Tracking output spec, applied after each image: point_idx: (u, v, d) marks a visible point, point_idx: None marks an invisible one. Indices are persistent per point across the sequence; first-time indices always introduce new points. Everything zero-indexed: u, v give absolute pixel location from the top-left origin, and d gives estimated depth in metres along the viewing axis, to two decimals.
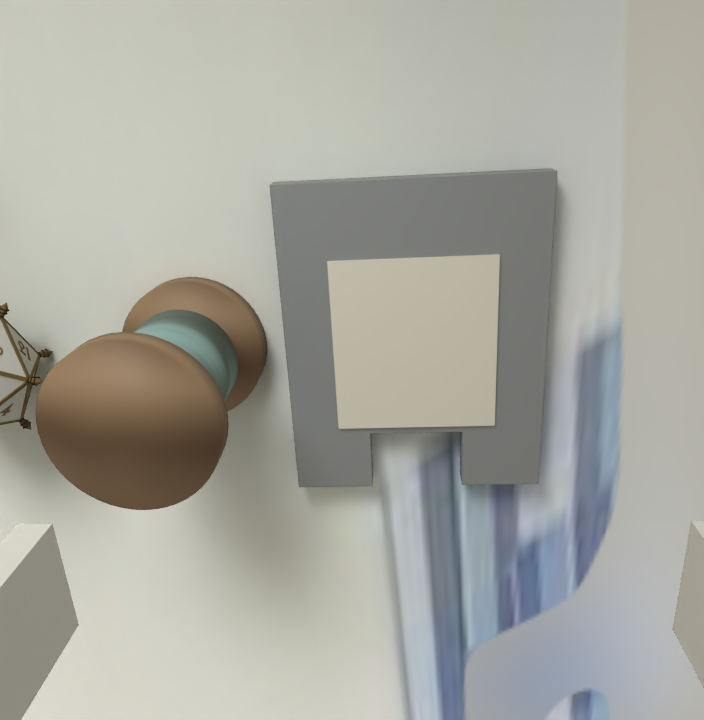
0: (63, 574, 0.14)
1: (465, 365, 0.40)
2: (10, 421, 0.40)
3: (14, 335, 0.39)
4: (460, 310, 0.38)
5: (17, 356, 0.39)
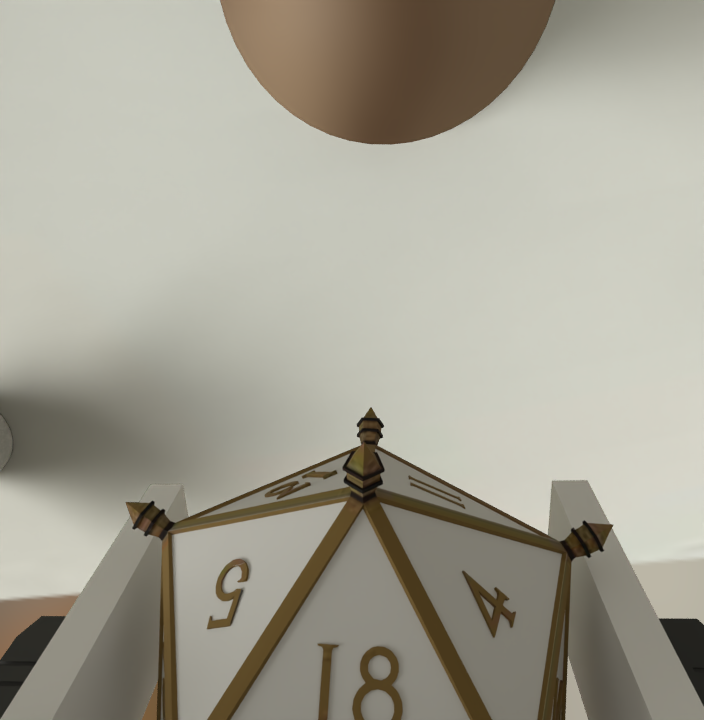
0: None
1: None
2: (558, 592, 0.10)
3: (243, 503, 0.11)
4: None
5: (281, 511, 0.10)
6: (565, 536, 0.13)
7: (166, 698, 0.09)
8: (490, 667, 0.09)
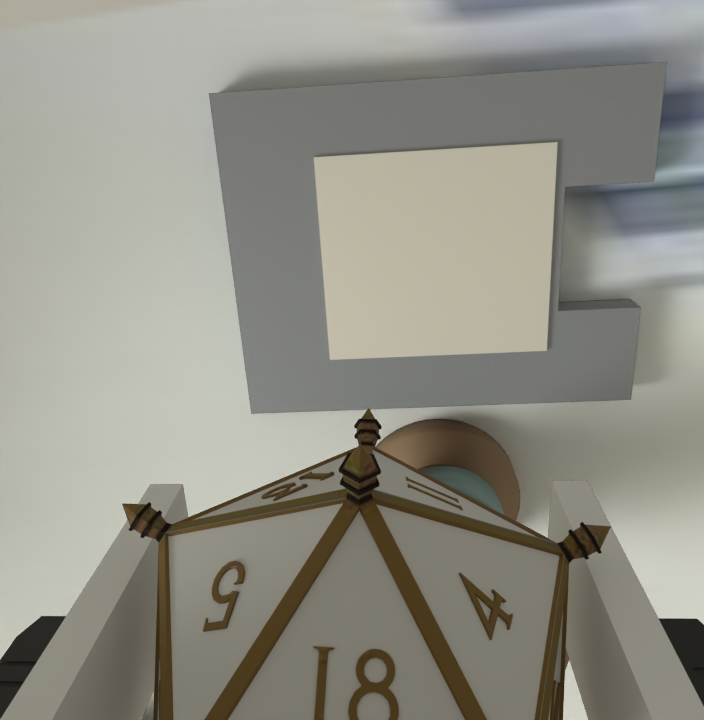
0: None
1: (463, 190, 0.30)
2: (555, 594, 0.10)
3: (240, 504, 0.11)
4: (386, 202, 0.30)
5: (276, 512, 0.10)
6: (565, 536, 0.13)
7: (162, 701, 0.09)
8: (487, 670, 0.09)
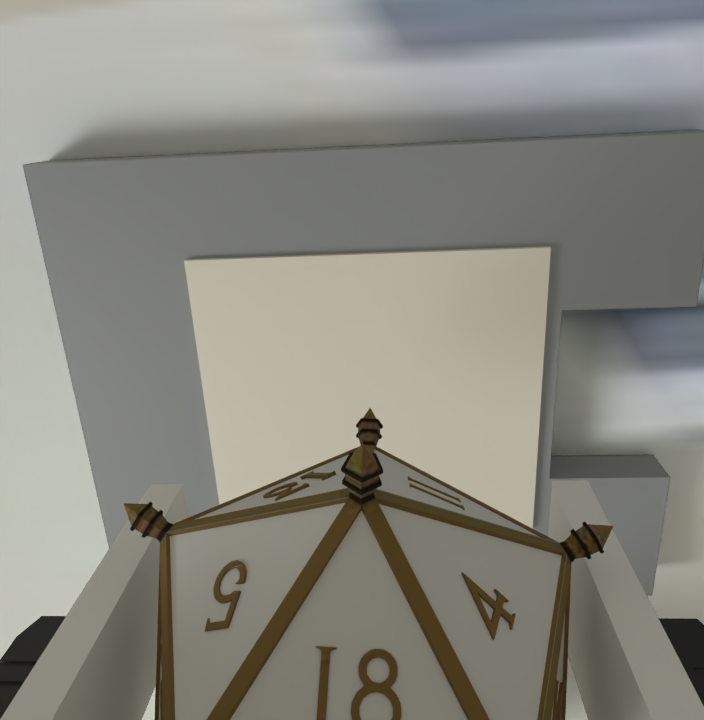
0: None
1: (408, 313, 0.20)
2: (558, 594, 0.10)
3: (241, 504, 0.11)
4: (295, 326, 0.20)
5: (278, 512, 0.10)
6: (565, 536, 0.13)
7: (163, 701, 0.09)
8: (490, 670, 0.09)
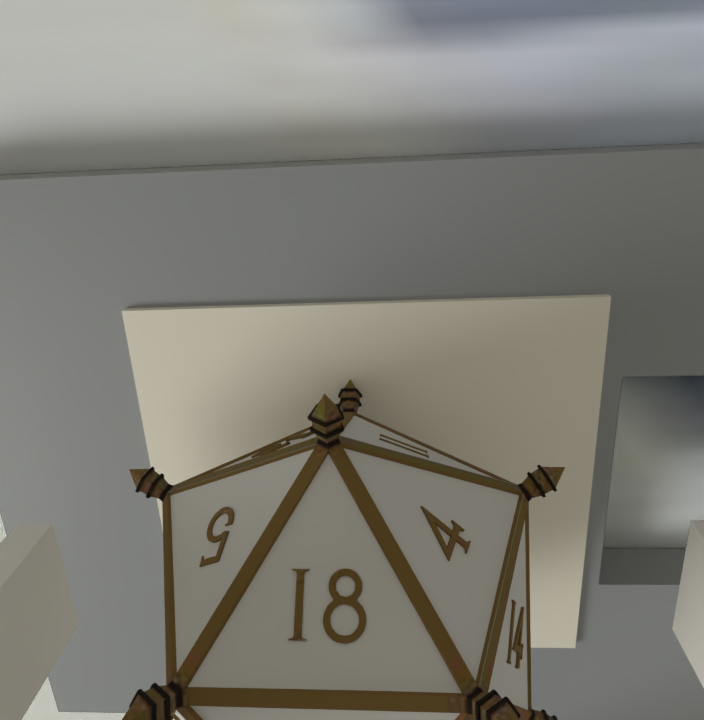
0: (63, 574, 0.14)
1: (418, 380, 0.15)
2: (513, 527, 0.11)
3: (233, 465, 0.13)
4: (270, 395, 0.15)
5: (261, 464, 0.11)
6: None
7: (166, 626, 0.10)
8: (444, 585, 0.10)
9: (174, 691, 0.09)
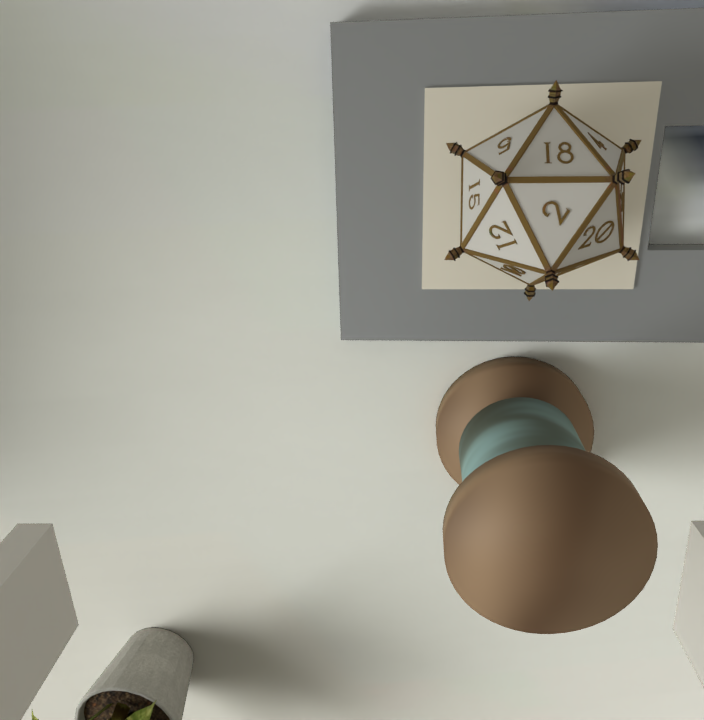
0: (63, 574, 0.14)
1: None
2: (621, 154, 0.27)
3: None
4: (490, 135, 0.32)
5: (517, 124, 0.27)
6: None
7: (488, 172, 0.26)
8: (600, 152, 0.26)
9: (504, 176, 0.25)
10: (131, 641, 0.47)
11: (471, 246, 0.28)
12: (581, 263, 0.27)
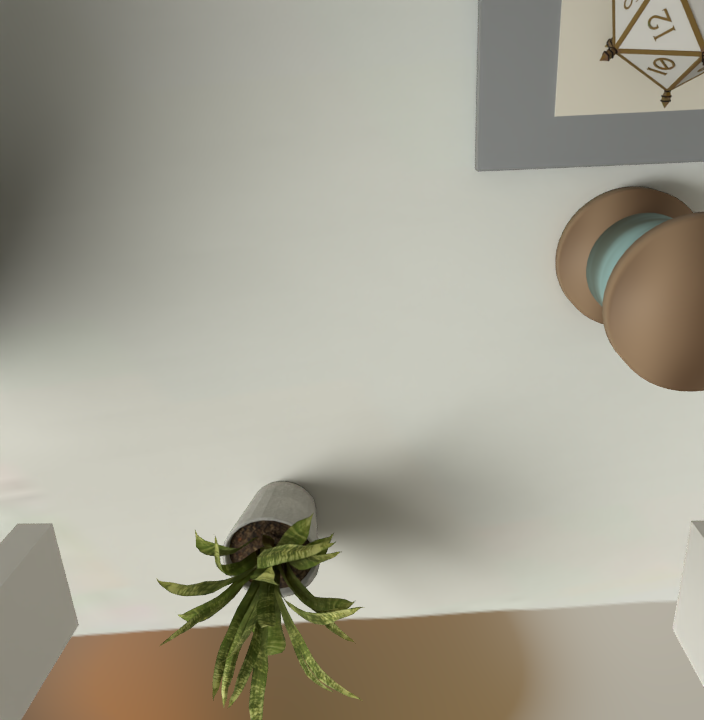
0: (63, 575, 0.14)
1: None
2: None
3: None
4: None
5: None
6: None
7: None
8: None
9: None
10: (261, 492, 0.50)
11: (626, 44, 0.32)
12: None
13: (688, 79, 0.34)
